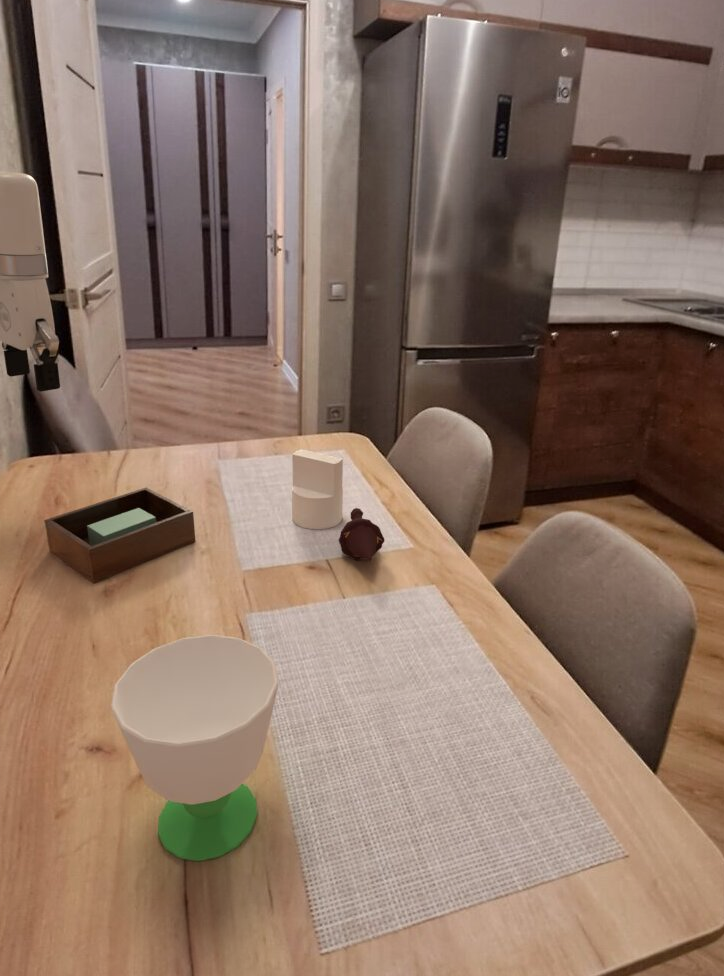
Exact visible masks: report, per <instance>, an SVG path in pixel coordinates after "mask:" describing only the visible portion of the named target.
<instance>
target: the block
mask: <svg viewBox="0 0 724 976" xmlns="http://www.w3.org/2000/svg"><path fill="white" fill-rule="evenodd" d="M154 523H156V517H155V516H153V515H151V514H149V513H147V512H145V511H144V510H142V509H140V508H137V509H134V510H131V511H128V512H125V513H122V514H119V515H116V516H114V517H111V518H108V519H105V520H102V521H99V522H96V523H93V524H90V525H87V530H88V536H89V543H90V546H94V545H97V544H100V543H102V542H105V541H108V540H110V539H113V538H116V537H119V536H121V535H124V534H127V533H129V532H132V531H135V530H138V529H140V528H143V527H146V526H148V525H151V524H154Z"/></svg>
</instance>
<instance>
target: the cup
mask: <svg viewBox="0 0 724 976" xmlns="http://www.w3.org/2000/svg"><path fill="white" fill-rule="evenodd" d="M278 688H279V677H278V671H277V665H276V663H275V662H274V661H273V660H272V659H271V657H270V656H269V655H268V654H267V653H266V651H265V650H264V649H263V648H262V647H260V646H258V645H256V644H253V643H252V642H249V641H248V640H244V639H243V638H240V637H233V636H227V635H219V634H218V635H217V634H205V635H198V636H190V637H182V638H179V639H176V640H174V641H171V642H167V643H165V644H162V645H160V646H156V647H154V648H152V650H150V651H148V652H147V653H145V654H144V655H142V656H141V657H139V658H137V659H136V660H135V661H133V662H132V663H130V664H129V666H128V667H127V668H126V669H125V671H124V673H122V675H121V676H120V677H119V679H118V680H117V682H116V683H115V684H114V687H113V692H112V697H111V703H110V710H111V712H112V714H113V716H114V718H115V721H116V723H117V725H118V727H119V729H120V732H121V734H122V736H123V738H124V740H125V742H126V744H127V747H128V749H129V751H130V753H131V756H132V758H133V760H134V762H135V764H136V767H137V769H138V771H139V773H140V775H141V777H142V779H143V781H144V783H145V785H146V787H147V788H148V789H149V790H151V791H153V793H156V794H157V795H159V796H161V797H162V798H164V799H165V800H167V801H166V803H165V805H164V807H163V808H162V811H161V812H160V814H159V816H158V826H157V835H158V838H159V839H160V842H161V844H162V846H163V848H164V849H165V850H166V851H168V852H169V853H170V854H172V855H174V856H175V857H177V858H178V859H180V860H188V861H193V862H202V861H208V860H212V859H216V858H220V857H223V856H224V855H226V854H227V853H229V852H231V851H233V850H235V849H236V848H238V847H239V846H240V845H241V844H242V843H243V842H244V840H246V838H247V837H248V836H249V835H250V834H251V833H252V831H253V828H254V825H255V822H256V820H257V818H258V809H257V798H256V797H255V796H254V794H253V792H252V791H251V790H250V788H249V787H248V786H247V785H245V784H244V782H245V781H247V779H248V778H249V777H250V776H251V775H252V774H253V773H254V772H255V771H256V770H257V768H258V765H259V762H260V760H261V758H262V756H263V753H264V750H265V746H266V742H267V737H268V732H269V728H270V723H271V720H272V715H273V711H274V705H275V702H276V697H277V693H278Z"/></svg>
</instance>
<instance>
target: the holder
mask: <svg viewBox="0 0 724 976" xmlns="http://www.w3.org/2000/svg"><path fill="white" fill-rule="evenodd" d="M137 508H140V509H142V510H144V511H145V512H147V513H149V514H151V515H153V516H155V517H156V523H154V524H151V525H148V526H146V527H143V528H140V529H138V530H135V531H132V532H129V533H127V534H124V535H121V536H119V537H116V538H113V539H110V540H108V541H105V542H102V543H100V544H97V545H94V546H90V543H89V536H88V530H87V525H90V524H93V523H96V522H99V521H102V520H105V519H108V518H111V517H114V516H116V515H119V514H122V513H125V512H128V511H131V510H134V509H137ZM194 517H195V516H194V511H193V510H191V509H189V508H187V507H185V506H184V505H182V504H179V503H177V502H176V501H175V500H172V499H170V498H168V497H166V496H164V495H162V494H160V493H158V492H156V491H154V490H152V489H150V488H148V487H146V486H145V487H143V488H140V489H137V490H134V491H130V492H128V493H124V494H122V495H118V496H115V497H112V498H109V499H106V500H103V501H99V502H96V503H94V504H90V505H87V506H84V507H81V508H77V509H75V510H71V511H68V512H66V513H62V514H59V515H56V516H53V517H50V518H47V519H44V526H45V532H46V537H47V542H48V549H49V552H50V553H51V554H52V555H54V556H55V557H57V558H58V559H60V560H61V561H62V562H64V563H65V564H66V565H67V566H70V567H71V568H72V569H74V570H75V571H76V572H78V573H79V574H80V575H82V576H83V577H85V578H86V579H87V580H89V581H90V582H92V583H93V584H96V583H98V582H101V581H103V580H105V579H108V578H110V577H113V576H115V575H118V574H120V573H123V572H124V571H125V572H126V571H128V570H130V569H132V568H135V567H137V566H140V565H142V564H144V563H147V562H150V561H151V560H154V559H157V558H159V557H162V556H164V555H166V554H168V553H171V552H173V551H176V550H179V549H181V548H183V547H186V546H188V545H191V544H193V543H195V542H196V530H195V518H194Z"/></svg>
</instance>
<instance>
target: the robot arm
mask: <svg viewBox="0 0 724 976" xmlns="http://www.w3.org/2000/svg"><path fill="white" fill-rule="evenodd" d="M39 194H40V193H39V187H38V184H37V181H36V179H34V177H32V176H31V175H29V174H27V173H24V172H23V173H22V172H14V171H4V170H0V342H1V348H2V350H3V357H4V362H5V364H4V365H5V370H6V371H5V372H6V375H7V377H11V378H12V377H18V376H24V375H25V376H26V375H29V374H30V373H31V369H30V361H29V356H28V348H29V350H30V353H31V355H32V357H33V359H34V362H35V363H34V364H33V373H34V380H35V386H36V391H37V392H47V391H53V390H58V389H60V388H61V381H60V380H61V379H60V373H59V372H60V371H59V365H58V363H60V362H59V361H60V359H59V355H60V351H59V345H60V340H59V336H58V335H56V329H55V320H54V315H53V308H52V302H51V298H50V293H49V288H48V284H47V280H46V279H48V278H49V269H48V260H47V253H46V243H45V237H44V236H45V235H44V227H43V219H42V212H41V211H42V210H41V202H40V195H39ZM40 351H42V352H41V353H40Z"/></svg>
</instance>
